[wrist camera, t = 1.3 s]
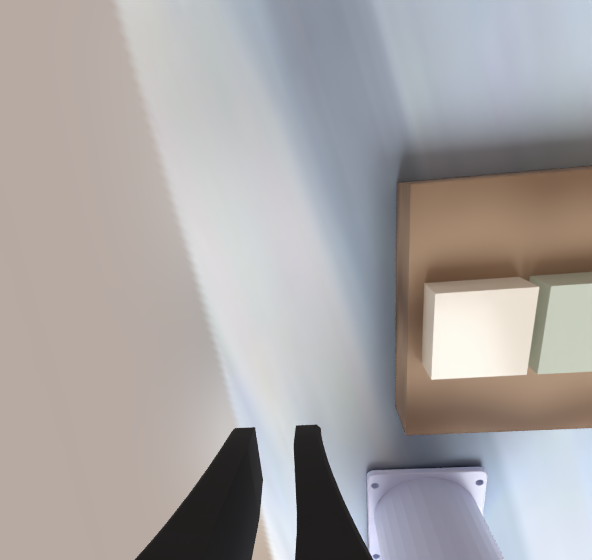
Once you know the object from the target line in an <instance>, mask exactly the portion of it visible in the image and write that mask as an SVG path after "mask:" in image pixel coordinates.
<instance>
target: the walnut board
mask: <svg viewBox="0 0 592 560" xmlns="http://www.w3.org/2000/svg"><path fill="white" fill-rule="evenodd" d="M581 272H592V166H583V167H571V168H560V169H548V170H537V171H525V172H514V173H502V174H491V175H479V176H468V177H456V178H445V179H433V180H421V181H410V182H398V183H397V232H396V392H395V407H396V409H397V412H398V415H399V418H400V420H401V423H402V426H403V429H404V431H405V434H406V435H429V434H454V433H479V432H503V431H528V430H553V429H578V428H592V372H574V373H554V374H537V373H535V372H534V371H533V370H532V369H531V368H530V367H529V366H528V369H527V375H514V376H494V377H475V378H455V379H435V380H431V378H430V376H429V375H428V373H427V371H426V370H425V368H424V366H423V365H422V336H423V307H424V283H434V282H449V281H464V280H478V279H493V278H508V277H521V278H523V279H525V280H527V281H529V279H530V276H537V275H552V274H567V273H581Z"/></svg>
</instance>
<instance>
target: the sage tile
mask: <svg viewBox="0 0 592 560" xmlns="http://www.w3.org/2000/svg"><path fill="white" fill-rule="evenodd" d="M529 282H531V283H533V284H535V285H537V286H539V293H538V300H537V307H536V314H535V321H534V328H533V335H532V342H531V348H530V355H529V362H528V366H529V367H530V368H531V369H532V370H533V371H534V372H535V373H537V374H554V373H574V372H592V272H581V273H567V274H552V275H537V276H530V279H529Z"/></svg>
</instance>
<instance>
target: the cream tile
mask: <svg viewBox="0 0 592 560" xmlns="http://www.w3.org/2000/svg"><path fill="white" fill-rule="evenodd" d="M538 293H539V286H537V285H535V284H533V283H531V282H529V281H527V280H525V279H523V278H521V277H508V278H493V279H478V280H464V281H449V282H434V283H424V307H423V336H422V365H423V366H424V368H425V370H426V371H427V373H428V375H429V376H430V378H431V380H435V379H455V378H475V377H494V376H514V375H527V369H528V362H529V355H530V348H531V342H532V335H533V328H534V321H535V314H536V307H537V300H538Z"/></svg>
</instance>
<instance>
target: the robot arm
mask: <svg viewBox="0 0 592 560" xmlns="http://www.w3.org/2000/svg"><path fill="white" fill-rule="evenodd" d="M294 461H295V482H296V503H297V538H296V554H295V560H505V559H504V557H503V555H502V553H501V551H500V549H499V547H498V545H497V543H496V541H495V539H494V537H493V535H492V533H491V531H490V529H489V527H488V525H487V523H486V521H485V519H484V517H483V510H484V502H485V493H486V485H487V473H486V471H485V469H484V468H482V467H453V468H423V469H394V470H372V471H370V472H368V474H367V505H368V541H369V550H368V549H367V547H366V545H365V543H364V541H363V539H362V537H361V535H360V533H359V531H358V529H357V527H356V526H355V524H354V521H353V519H352V517H351V515H350V513H349V511H348V509H347V507H346V505H345V502H344V500H343V498H342V495H341V493H340V491H339V488H338V486H337V483H336V481H335V478H334V476H333V473H332V471H331V468H330V465H329V462H328V459H327V456H326V453H325V449H324V446H323V441H322V436H321V428H320V427H319V426H318V425H299V426H296V430H295V438H294ZM373 483H375V484H373ZM262 484H263V478H262V471H261V464H260V458H259V451H258V445H257V438H256V431H255V427H253V428H235V429H234V430H233V431H232V432H231V434H230V435H229V437H228V438H227V440H226V442H225V443H224V445H223V446H222V448H221V449H220V451H219V452H218V454H217V455H216V457H215V458H214V460H213V461H212V463H211V464H210V466H209V467H208V469H207V470H206V471H205V473H204V474H203V476H202V477H201V478H200V480H199V481H198V483H197V484H196V486H195V487H194V488H193V490H192V491H191V492H190V494H189V495H188V496H187V498H186V499H185V500H184V501H183V503H182V504H181V505H180V506H179V508H178V509H177V511H176V512H175V513H174V514H173V515H172V517H171V518H170V519H169V521H168V522H167V523H166V524H165V526H164V527H163V528H162V529H161V530H160V531H159V533H158V534H157V535H156V536H155V537H154V539H153V540H152V541H151V542H150V543H149V544H148V545H147V547H146V548H145V549H144V550H143V551H142V552H141V553H140V554H139V556H138V557H137V558H136V559H135V560H251V559H252V554H253V548H254V543H255V538H256V533H257V528H258V522H259V516H260V506H261V495H262Z"/></svg>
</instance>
